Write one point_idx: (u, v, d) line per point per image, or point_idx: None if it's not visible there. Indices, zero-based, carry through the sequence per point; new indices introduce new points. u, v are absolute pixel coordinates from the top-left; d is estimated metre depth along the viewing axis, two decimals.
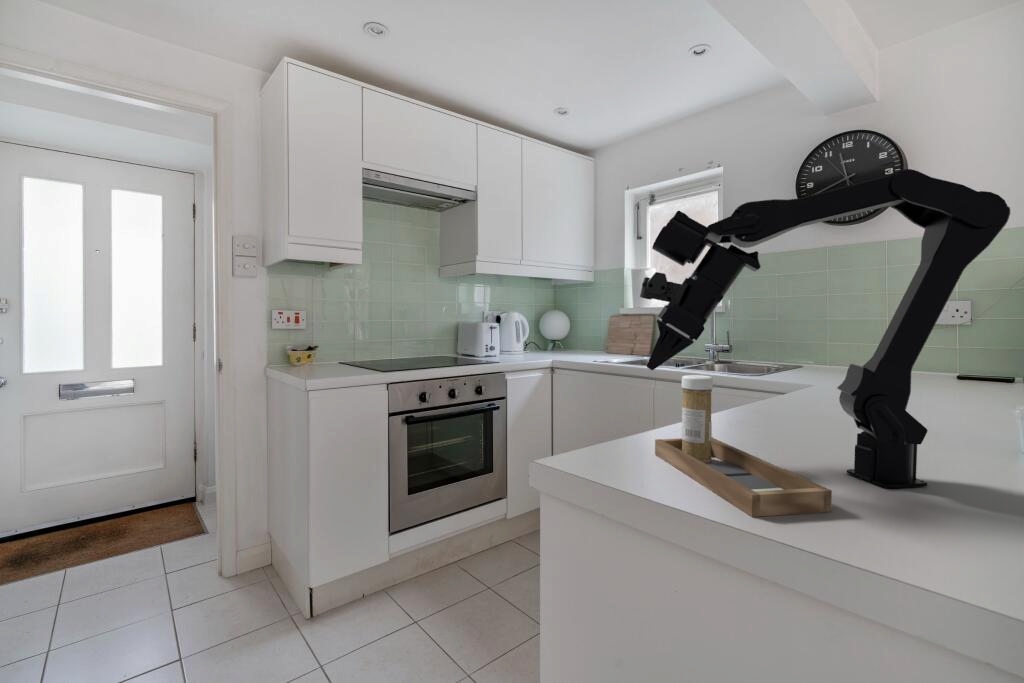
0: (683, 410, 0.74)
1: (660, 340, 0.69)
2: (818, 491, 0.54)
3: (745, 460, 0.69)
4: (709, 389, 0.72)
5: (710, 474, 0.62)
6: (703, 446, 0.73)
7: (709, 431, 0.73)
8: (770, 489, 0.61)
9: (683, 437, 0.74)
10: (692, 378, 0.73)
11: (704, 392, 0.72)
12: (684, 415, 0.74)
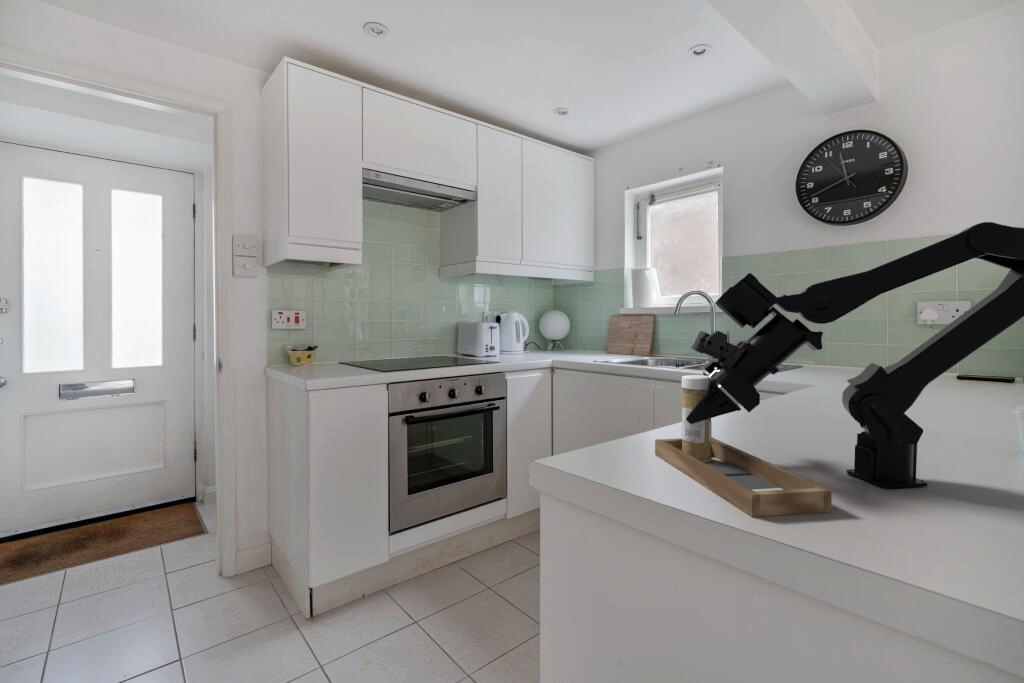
0: (683, 410, 0.74)
1: (707, 398, 0.70)
2: (818, 491, 0.54)
3: (745, 460, 0.69)
4: None
5: (710, 474, 0.62)
6: (703, 446, 0.73)
7: (709, 431, 0.73)
8: (770, 489, 0.61)
9: (683, 437, 0.74)
10: (692, 378, 0.73)
11: (704, 392, 0.72)
12: (683, 415, 0.74)
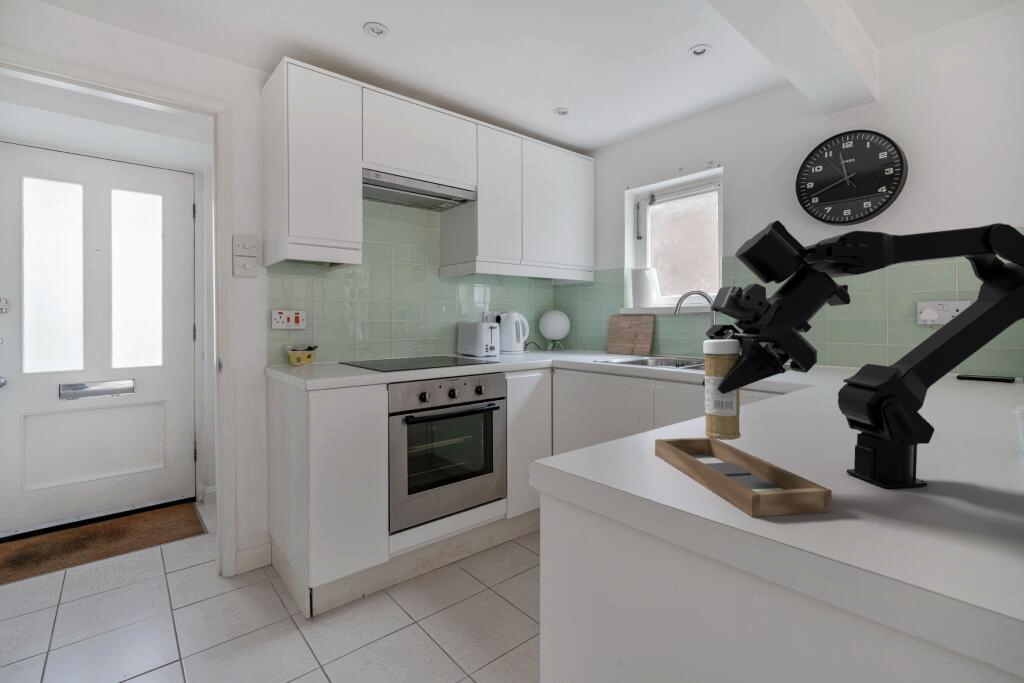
0: (709, 379, 0.64)
1: (744, 362, 0.61)
2: (818, 491, 0.54)
3: (745, 460, 0.69)
4: (738, 353, 0.64)
5: (710, 474, 0.62)
6: (735, 419, 0.63)
7: (739, 401, 0.64)
8: (770, 489, 0.61)
9: (710, 411, 0.64)
10: (721, 341, 0.63)
11: (734, 356, 0.63)
12: (711, 385, 0.64)
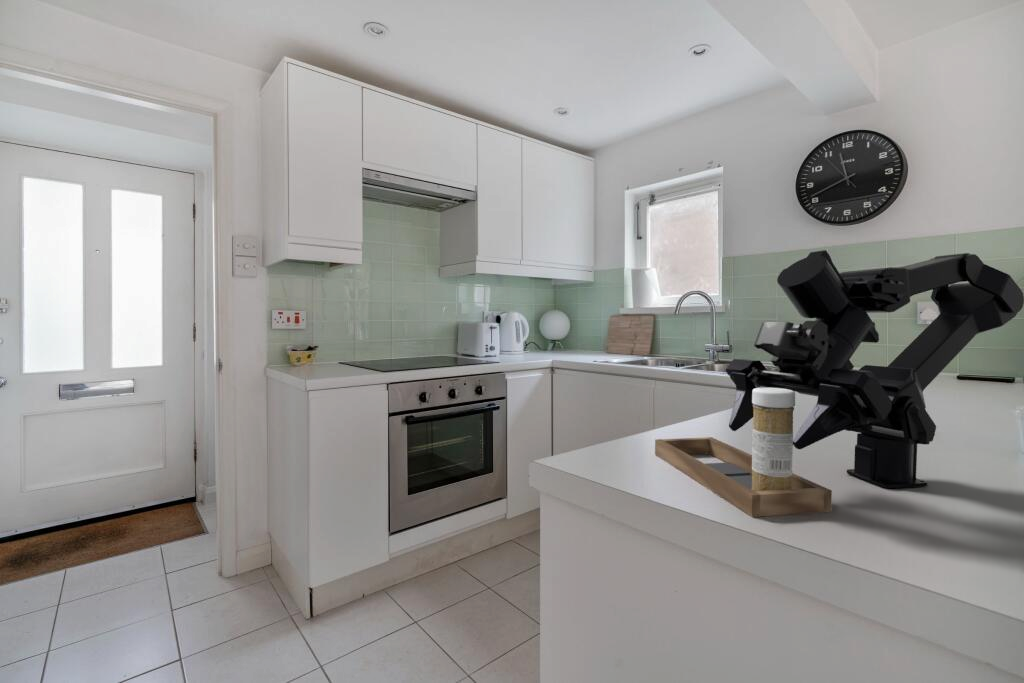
0: (765, 436, 0.56)
1: (825, 413, 0.52)
2: (818, 491, 0.54)
3: (745, 460, 0.69)
4: None
5: (710, 474, 0.62)
6: (791, 480, 0.56)
7: None
8: None
9: (765, 471, 0.56)
10: (782, 393, 0.55)
11: (792, 410, 0.56)
12: (767, 443, 0.56)
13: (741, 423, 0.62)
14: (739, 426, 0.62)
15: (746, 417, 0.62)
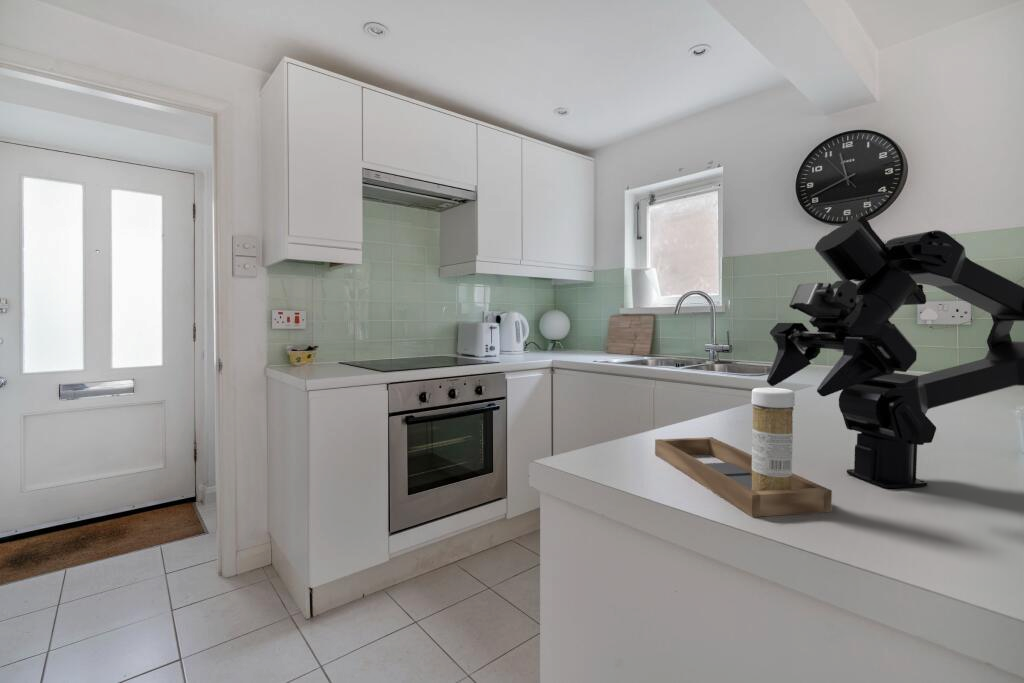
0: (764, 436, 0.56)
1: (849, 363, 0.57)
2: (818, 491, 0.54)
3: (745, 460, 0.69)
4: None
5: (710, 474, 0.62)
6: (790, 480, 0.56)
7: None
8: None
9: (765, 471, 0.56)
10: (781, 393, 0.55)
11: (792, 410, 0.56)
12: (766, 443, 0.56)
13: (779, 379, 0.67)
14: (777, 382, 0.67)
15: (785, 374, 0.67)
